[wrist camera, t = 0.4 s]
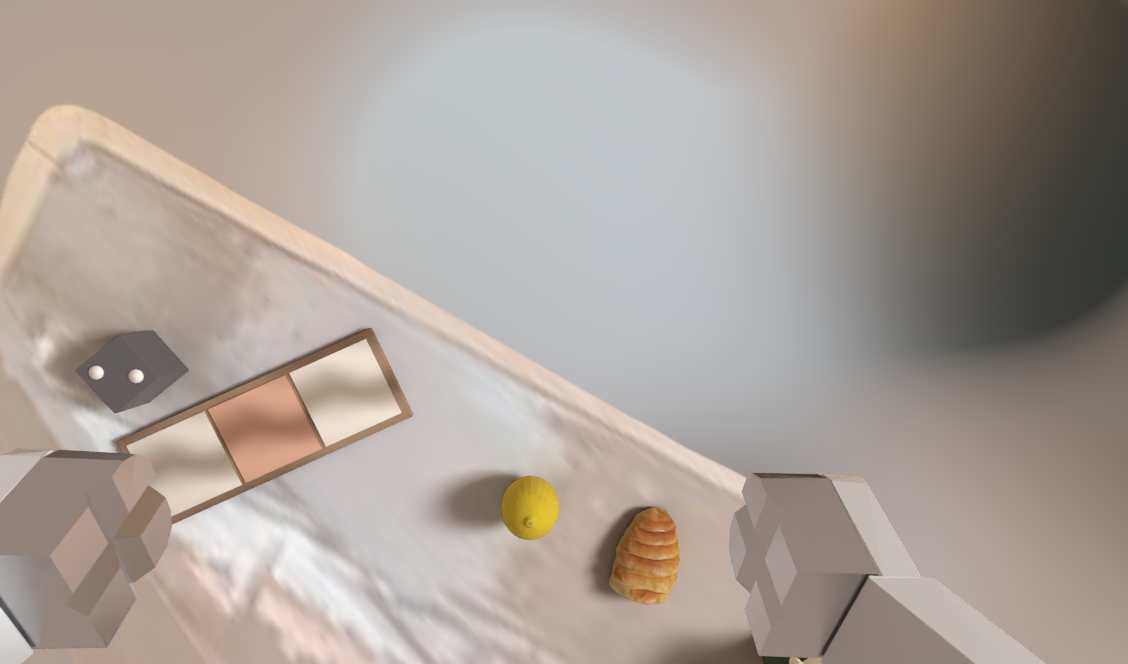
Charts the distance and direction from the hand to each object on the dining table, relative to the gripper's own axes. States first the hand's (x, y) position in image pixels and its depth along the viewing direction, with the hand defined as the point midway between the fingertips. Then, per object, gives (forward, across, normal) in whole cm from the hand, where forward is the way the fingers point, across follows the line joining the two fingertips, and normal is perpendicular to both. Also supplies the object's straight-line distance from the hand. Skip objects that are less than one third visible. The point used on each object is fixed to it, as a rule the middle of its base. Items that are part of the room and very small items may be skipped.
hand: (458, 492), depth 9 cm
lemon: (+37, +2, -42) cm, 56 cm away
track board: (+40, -24, -37) cm, 59 cm away
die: (+43, -35, -32) cm, 64 cm away
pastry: (+34, +14, -48) cm, 60 cm away
